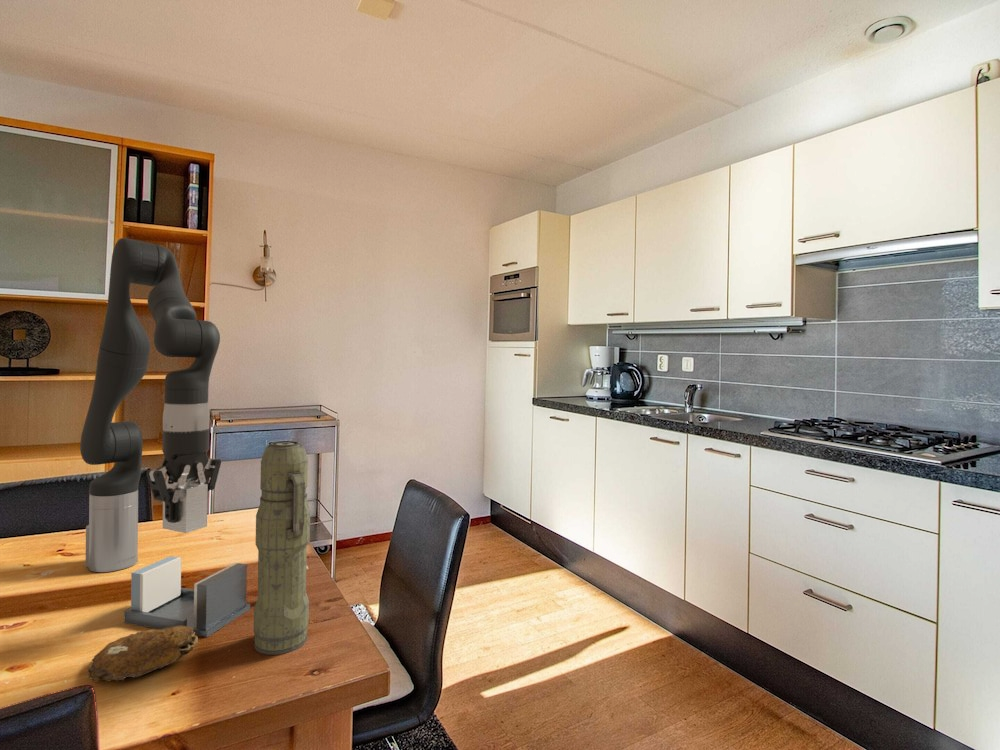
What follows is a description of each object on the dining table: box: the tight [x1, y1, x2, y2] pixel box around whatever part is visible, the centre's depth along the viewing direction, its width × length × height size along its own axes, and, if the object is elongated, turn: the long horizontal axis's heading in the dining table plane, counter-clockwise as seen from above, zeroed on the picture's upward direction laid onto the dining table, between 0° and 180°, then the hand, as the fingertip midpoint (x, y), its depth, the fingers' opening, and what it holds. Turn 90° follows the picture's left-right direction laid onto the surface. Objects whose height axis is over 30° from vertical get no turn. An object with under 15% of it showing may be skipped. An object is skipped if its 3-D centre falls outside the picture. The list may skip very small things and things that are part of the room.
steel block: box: [162, 482, 209, 534], centre depth 100 cm, size 6×4×8 cm
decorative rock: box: [87, 625, 199, 683], centre depth 88 cm, size 11×4×15 cm
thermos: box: [253, 440, 311, 656], centre depth 94 cm, size 9×12×35 cm
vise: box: [123, 562, 251, 638], centre depth 103 cm, size 18×11×9 cm, turn 77°
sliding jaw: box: [130, 555, 182, 612], centre depth 104 cm, size 3×9×8 cm, turn 167°
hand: (185, 517), depth 101 cm, fingers closed on steel block, 4 cm apart
